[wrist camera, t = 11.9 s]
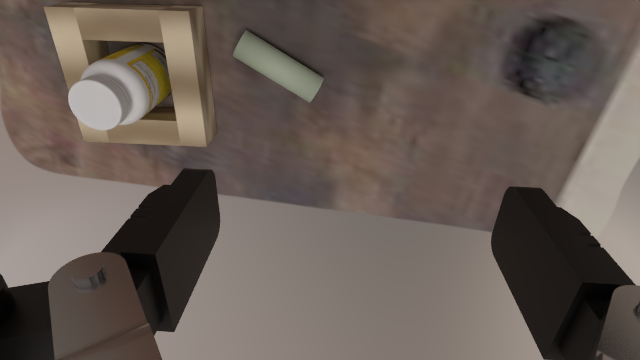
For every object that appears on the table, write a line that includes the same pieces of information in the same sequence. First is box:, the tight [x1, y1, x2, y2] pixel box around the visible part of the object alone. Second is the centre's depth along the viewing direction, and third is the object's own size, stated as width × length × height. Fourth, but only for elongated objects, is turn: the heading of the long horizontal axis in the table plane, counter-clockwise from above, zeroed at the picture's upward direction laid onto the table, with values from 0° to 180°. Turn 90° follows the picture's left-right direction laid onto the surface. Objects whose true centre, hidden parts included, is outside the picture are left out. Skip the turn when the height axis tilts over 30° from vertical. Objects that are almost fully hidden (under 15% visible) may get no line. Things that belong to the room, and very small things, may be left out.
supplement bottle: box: [68, 44, 172, 130], centre depth 33 cm, size 5×5×10 cm
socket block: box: [44, 2, 217, 147], centre depth 36 cm, size 12×12×4 cm
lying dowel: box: [233, 30, 324, 102], centre depth 36 cm, size 8×3×3 cm, turn 59°
